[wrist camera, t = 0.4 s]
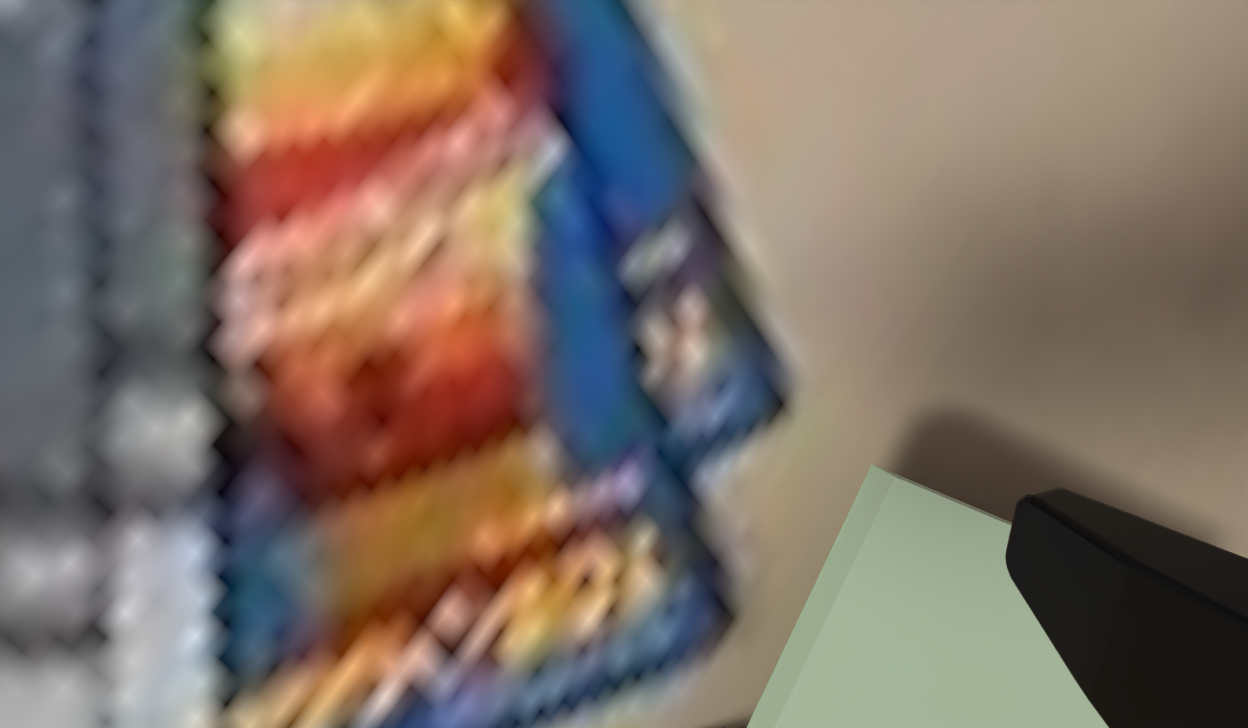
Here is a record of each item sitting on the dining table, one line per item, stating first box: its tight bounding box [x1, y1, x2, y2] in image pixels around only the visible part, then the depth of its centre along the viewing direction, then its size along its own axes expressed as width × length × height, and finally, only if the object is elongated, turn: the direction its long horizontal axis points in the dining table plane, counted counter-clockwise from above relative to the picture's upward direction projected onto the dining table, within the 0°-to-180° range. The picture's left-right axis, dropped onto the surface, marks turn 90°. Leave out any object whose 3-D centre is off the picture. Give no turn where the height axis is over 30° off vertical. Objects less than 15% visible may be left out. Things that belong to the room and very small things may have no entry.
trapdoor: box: [747, 464, 1109, 728], centre depth 28 cm, size 9×12×1 cm
